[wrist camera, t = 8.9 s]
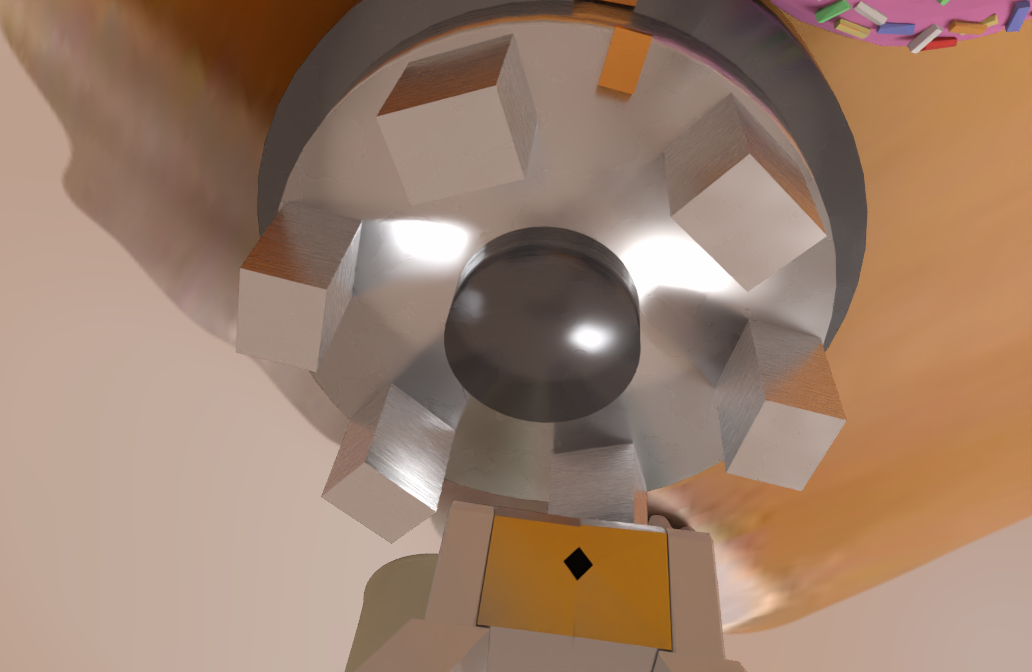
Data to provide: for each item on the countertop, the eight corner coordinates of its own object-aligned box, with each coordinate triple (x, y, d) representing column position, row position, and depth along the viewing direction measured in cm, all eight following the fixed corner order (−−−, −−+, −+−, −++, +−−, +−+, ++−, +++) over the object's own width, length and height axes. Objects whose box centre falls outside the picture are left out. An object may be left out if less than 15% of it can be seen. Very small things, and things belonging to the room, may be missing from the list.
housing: (289, -141, 27) (243, -120, 24) (941, -23, 27) (986, 14, 24) (295, 370, 40) (265, 430, 36) (742, 450, 40) (753, 517, 36)
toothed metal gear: (280, 395, 35) (219, 517, 29) (323, -82, 24) (240, -25, 19) (705, 499, 36) (719, 634, 31) (929, 85, 25) (1011, 183, 20)
